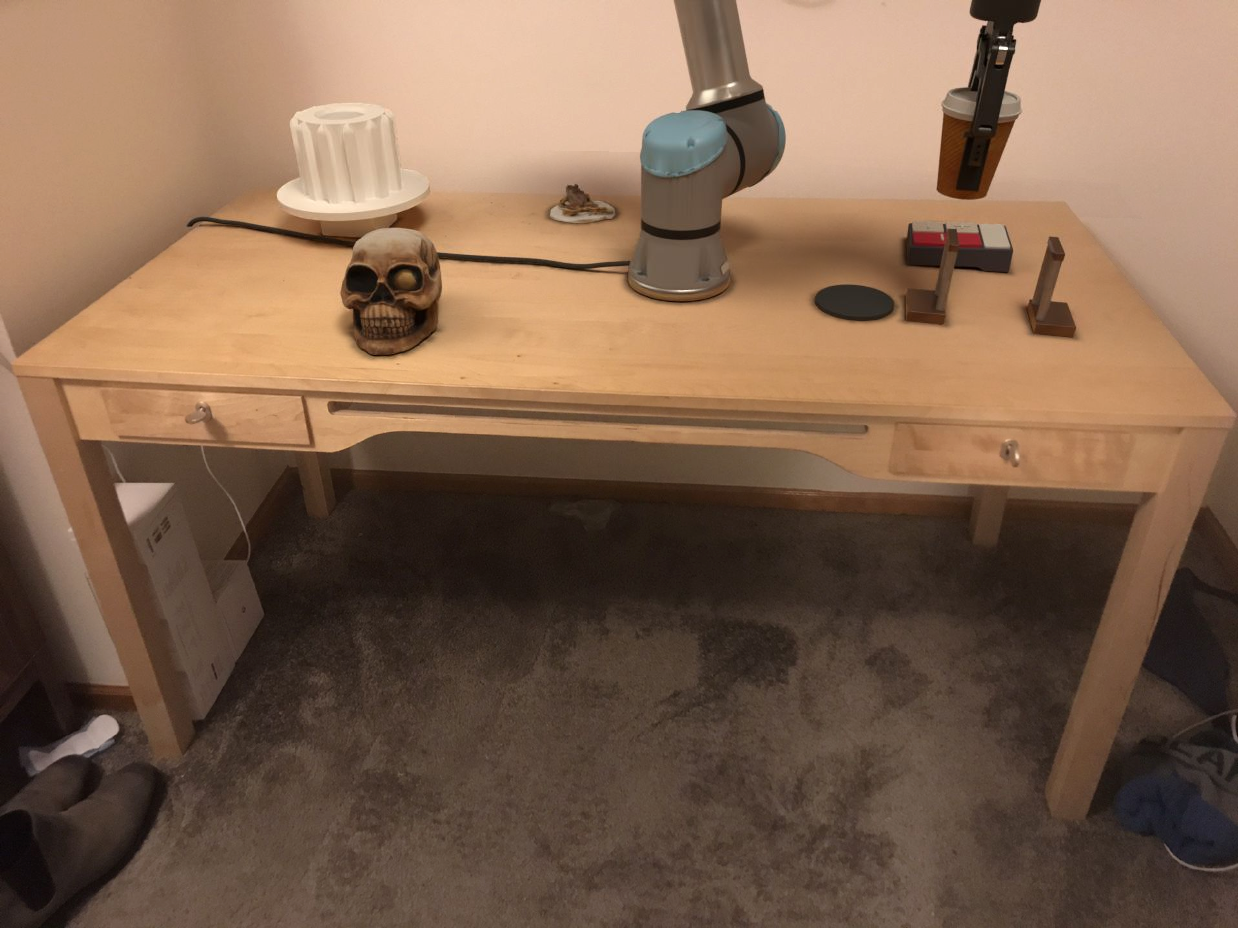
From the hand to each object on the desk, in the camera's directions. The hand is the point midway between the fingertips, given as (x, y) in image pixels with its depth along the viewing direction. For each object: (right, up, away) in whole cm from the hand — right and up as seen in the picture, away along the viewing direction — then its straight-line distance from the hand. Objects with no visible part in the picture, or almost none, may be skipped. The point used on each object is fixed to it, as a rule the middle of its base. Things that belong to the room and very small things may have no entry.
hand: (964, 178), depth 116 cm
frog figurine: (-52, +8, +45) cm, 69 cm away
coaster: (-11, -14, +13) cm, 22 cm away
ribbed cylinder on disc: (-89, +4, +40) cm, 98 cm away
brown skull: (-75, -17, +9) cm, 78 cm away
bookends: (+7, -16, +9) cm, 20 cm away
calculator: (+9, -4, +27) cm, 29 cm away
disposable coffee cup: (0, -2, +1) cm, 2 cm away
